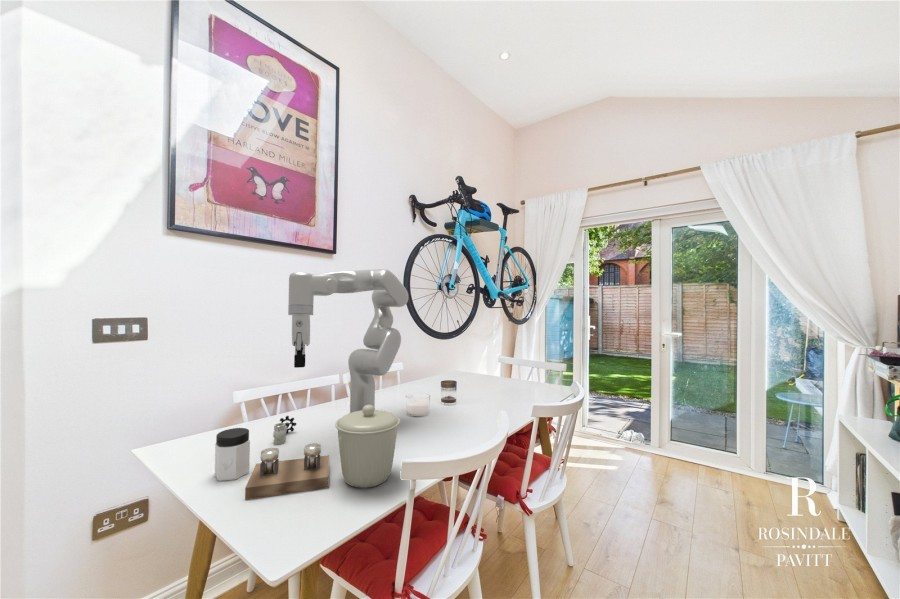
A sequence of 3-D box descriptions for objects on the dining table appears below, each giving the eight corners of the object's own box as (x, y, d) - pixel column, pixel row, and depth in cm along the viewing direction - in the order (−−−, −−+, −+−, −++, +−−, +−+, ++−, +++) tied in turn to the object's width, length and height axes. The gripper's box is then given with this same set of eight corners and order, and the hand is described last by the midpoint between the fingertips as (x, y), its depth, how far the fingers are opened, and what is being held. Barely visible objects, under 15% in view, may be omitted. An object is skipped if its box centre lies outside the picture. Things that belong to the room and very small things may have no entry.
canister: (346, 463, 110) (347, 395, 110) (403, 465, 110) (405, 397, 110) (323, 494, 92) (325, 414, 92) (392, 497, 92) (393, 416, 92)
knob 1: (279, 468, 100) (279, 446, 100) (277, 475, 96) (277, 453, 96) (262, 470, 99) (262, 448, 99) (259, 477, 95) (259, 455, 95)
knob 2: (320, 463, 104) (320, 442, 104) (320, 469, 100) (320, 448, 100) (304, 464, 102) (304, 444, 102) (303, 471, 98) (303, 450, 98)
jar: (208, 482, 97) (209, 439, 97) (220, 468, 105) (221, 428, 105) (244, 479, 99) (245, 436, 99) (253, 466, 107) (254, 426, 107)
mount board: (328, 465, 109) (329, 445, 109) (328, 487, 96) (328, 465, 96) (255, 474, 102) (256, 453, 103) (244, 499, 89) (245, 476, 89)
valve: (287, 445, 124) (296, 432, 136) (288, 426, 124) (296, 415, 136) (267, 446, 123) (277, 433, 134) (268, 427, 123) (278, 415, 134)
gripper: (312, 311, 109) (310, 370, 109) (314, 310, 123) (313, 362, 123) (285, 311, 107) (284, 371, 106) (290, 309, 121) (289, 363, 120)
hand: (299, 366), depth 115 cm, fingers closed
